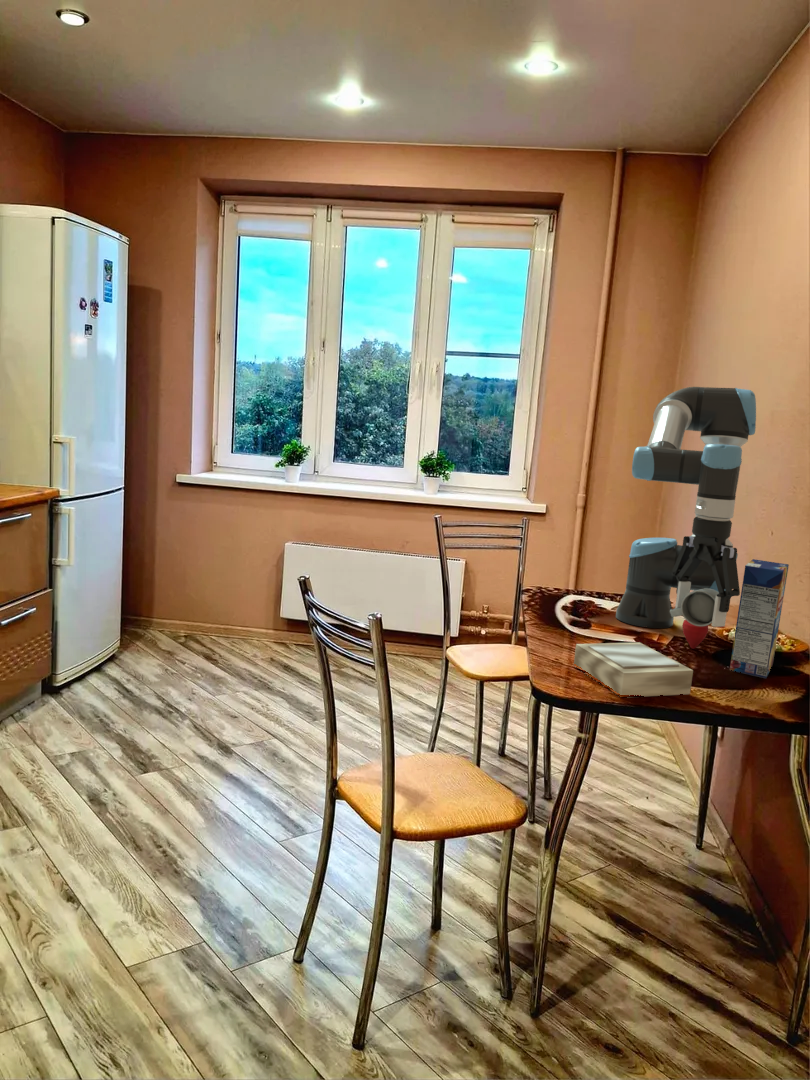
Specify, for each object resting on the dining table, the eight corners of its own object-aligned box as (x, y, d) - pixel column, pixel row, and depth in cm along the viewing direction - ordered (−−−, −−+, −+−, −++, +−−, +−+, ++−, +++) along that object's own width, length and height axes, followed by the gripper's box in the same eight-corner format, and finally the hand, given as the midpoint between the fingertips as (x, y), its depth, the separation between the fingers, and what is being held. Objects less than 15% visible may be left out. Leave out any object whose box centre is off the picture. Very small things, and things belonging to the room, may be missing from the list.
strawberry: (681, 651, 173) (687, 611, 172) (677, 642, 181) (682, 604, 179) (707, 654, 172) (713, 614, 170) (702, 646, 179) (708, 607, 178)
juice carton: (738, 657, 172) (753, 559, 168) (772, 665, 168) (788, 564, 164) (729, 670, 162) (745, 565, 158) (766, 678, 158) (783, 571, 154)
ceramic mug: (725, 622, 157) (729, 588, 156) (715, 630, 150) (720, 594, 149) (675, 613, 163) (679, 579, 162) (664, 620, 156) (668, 585, 155)
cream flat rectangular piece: (573, 666, 157) (576, 642, 156) (636, 663, 161) (639, 640, 161) (620, 697, 140) (624, 671, 139) (689, 694, 144) (693, 668, 144)
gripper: (663, 509, 162) (650, 603, 166) (738, 527, 140) (722, 635, 144) (691, 509, 164) (678, 602, 168) (770, 527, 142) (753, 634, 146)
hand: (698, 617), depth 156 cm, fingers closed on ceramic mug, 11 cm apart
